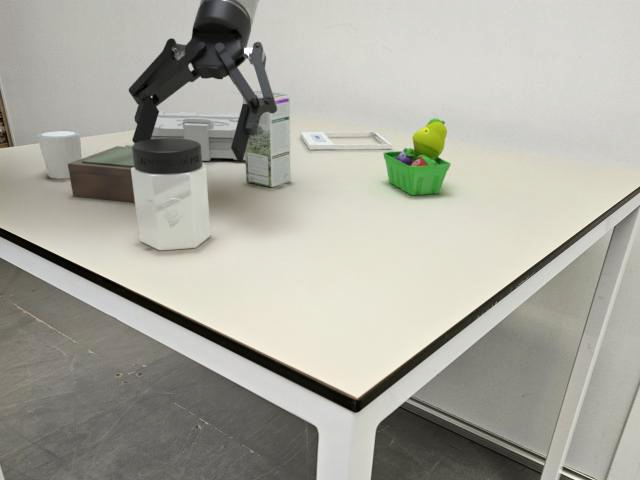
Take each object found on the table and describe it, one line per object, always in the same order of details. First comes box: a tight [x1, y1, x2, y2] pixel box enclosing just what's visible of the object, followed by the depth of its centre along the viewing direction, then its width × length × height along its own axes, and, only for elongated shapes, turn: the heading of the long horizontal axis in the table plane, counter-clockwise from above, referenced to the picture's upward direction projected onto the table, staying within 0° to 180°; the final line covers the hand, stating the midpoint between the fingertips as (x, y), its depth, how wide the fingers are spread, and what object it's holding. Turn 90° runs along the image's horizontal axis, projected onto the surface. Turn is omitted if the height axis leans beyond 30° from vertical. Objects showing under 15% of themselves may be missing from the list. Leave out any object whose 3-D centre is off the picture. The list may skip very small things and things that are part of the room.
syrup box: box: [242, 90, 292, 188], centre depth 101 cm, size 6×6×14 cm
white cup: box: [36, 129, 83, 180], centre depth 104 cm, size 7×7×7 cm
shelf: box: [68, 145, 135, 203], centre depth 97 cm, size 14×14×5 cm
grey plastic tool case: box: [124, 110, 246, 162], centre depth 122 cm, size 19×28×8 cm
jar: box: [131, 138, 212, 252], centre depth 75 cm, size 9×8×12 cm
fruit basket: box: [383, 117, 452, 196], centre depth 101 cm, size 11×9×11 cm
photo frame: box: [300, 131, 393, 151], centre depth 136 cm, size 15×1×18 cm
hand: (187, 150), depth 78 cm, fingers open, 13 cm apart
